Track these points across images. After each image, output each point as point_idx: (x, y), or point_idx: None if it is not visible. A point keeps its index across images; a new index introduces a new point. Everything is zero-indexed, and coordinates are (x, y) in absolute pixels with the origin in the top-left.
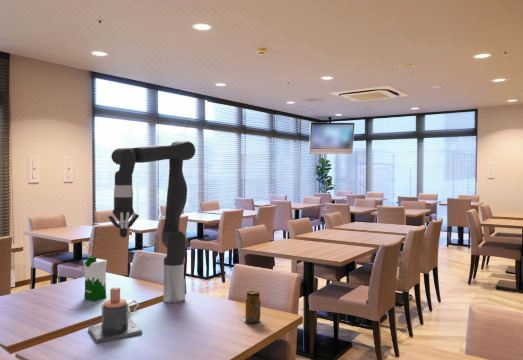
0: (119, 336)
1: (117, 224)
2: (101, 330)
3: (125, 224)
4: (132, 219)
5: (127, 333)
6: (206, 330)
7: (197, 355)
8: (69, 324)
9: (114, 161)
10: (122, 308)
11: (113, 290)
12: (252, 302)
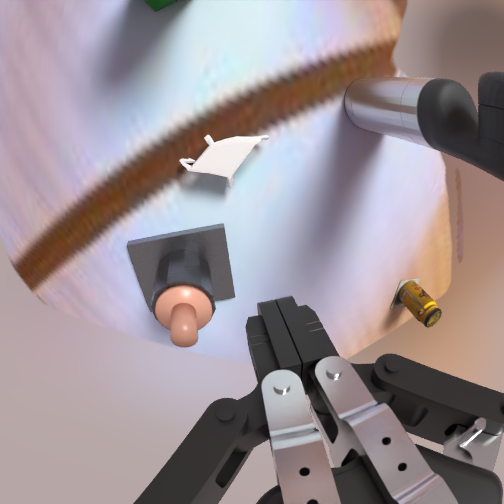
0: None
1: (236, 459)
2: (155, 274)
3: (328, 430)
4: (426, 432)
5: None
6: (337, 306)
7: None
8: (85, 185)
9: None
10: None
11: (179, 346)
12: (418, 320)
